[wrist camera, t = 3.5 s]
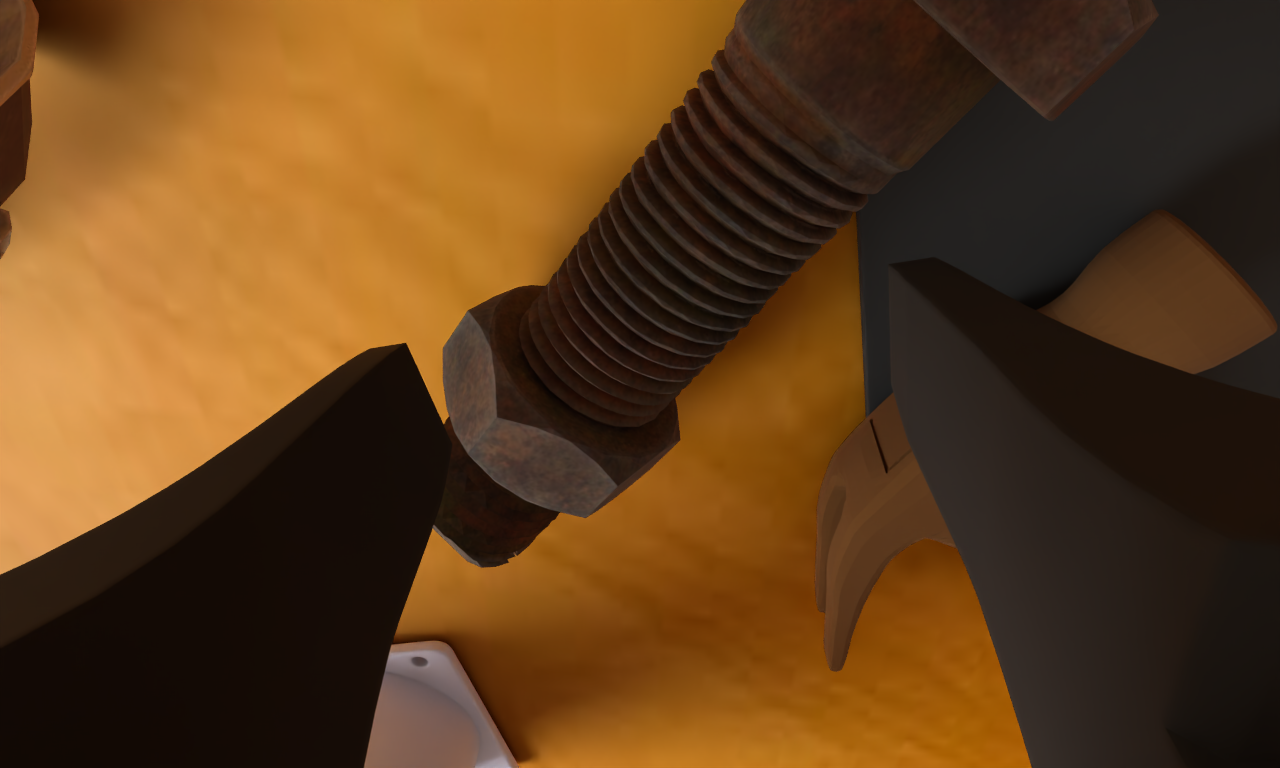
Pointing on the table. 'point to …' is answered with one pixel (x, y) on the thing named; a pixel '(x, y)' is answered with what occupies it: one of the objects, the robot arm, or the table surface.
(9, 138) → the goggles
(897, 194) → the mat
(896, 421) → the hammer
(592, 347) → the bolt
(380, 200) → the table surface
